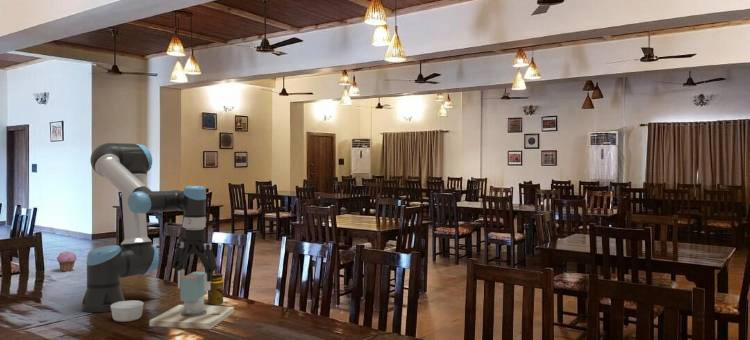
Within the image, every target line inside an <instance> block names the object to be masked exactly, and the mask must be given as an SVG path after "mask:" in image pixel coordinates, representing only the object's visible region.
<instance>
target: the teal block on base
mask: <svg viewBox="0 0 750 340" xmlns="http://www.w3.org/2000/svg"><path fill="white" fill-rule="evenodd" d="M205 272H206V271H192V272H191V273H189V274H186V275H184V276H182V277H181V288H180V291H179V292H180V295H179V297H180V301H181V302H183V305H184V313H185V314H200V313H203V312H204V302H205V295H208V291H204V273H205Z"/></svg>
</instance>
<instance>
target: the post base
mask: <svg viewBox="0 0 750 340" xmlns="http://www.w3.org/2000/svg"><path fill="white" fill-rule="evenodd" d="M234 313H235V306H223V305H217V306H204V312H203V313H200V314H185V313H184V304H178V305H175V306H174V307H172V308H170V309H168V310H167V311H165V312H163V313H161V314H158V315H157V316H155V317H153V318H151V319H149V325H148V326H149V327H154V328H155V327H159V328H160V327H161V328H175V329H176V328H178V329H196V330H197V329H200V330H212V329H213V328H214V327H216V326H217V325H219V324H220V323H221V322H222V321H224V320H226V319H227V318H228V317H230V316H231V315H233V314H234Z"/></svg>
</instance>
